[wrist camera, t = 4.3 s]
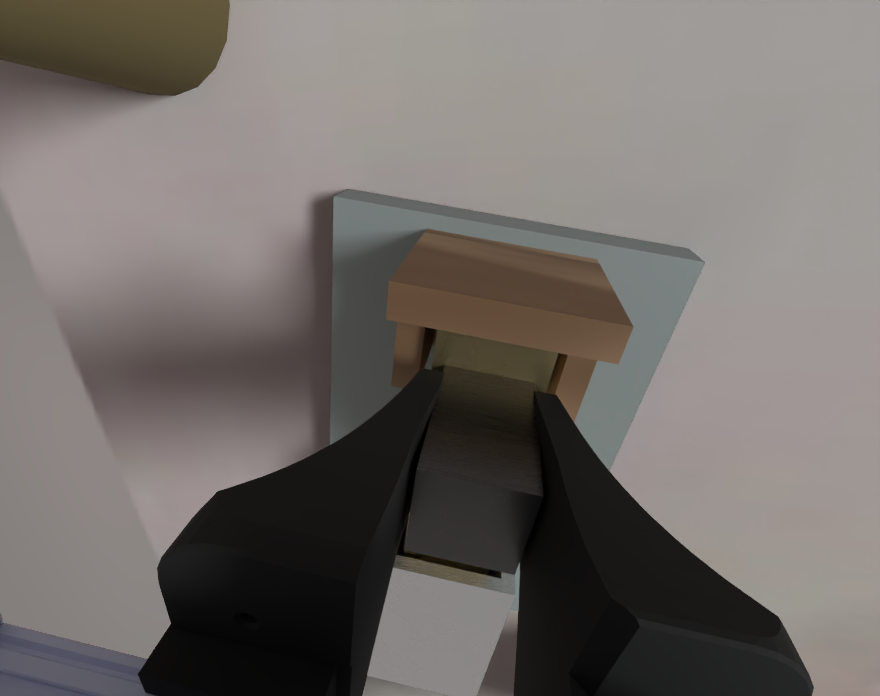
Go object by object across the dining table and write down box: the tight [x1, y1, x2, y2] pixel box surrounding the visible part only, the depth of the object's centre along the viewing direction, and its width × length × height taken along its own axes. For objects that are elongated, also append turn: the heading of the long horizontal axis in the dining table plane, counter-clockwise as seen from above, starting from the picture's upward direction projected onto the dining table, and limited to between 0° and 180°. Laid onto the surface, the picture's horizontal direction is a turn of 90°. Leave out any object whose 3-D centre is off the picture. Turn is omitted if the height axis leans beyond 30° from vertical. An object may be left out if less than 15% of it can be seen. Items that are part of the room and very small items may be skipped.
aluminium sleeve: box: [367, 516, 515, 696], centre depth 19 cm, size 8×5×5 cm, turn 172°
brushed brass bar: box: [403, 329, 558, 576], centre depth 14 cm, size 12×3×7 cm, turn 172°
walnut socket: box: [386, 229, 633, 422], centre depth 13 cm, size 4×6×5 cm
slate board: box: [330, 189, 705, 611], centre depth 20 cm, size 20×12×2 cm, turn 172°
